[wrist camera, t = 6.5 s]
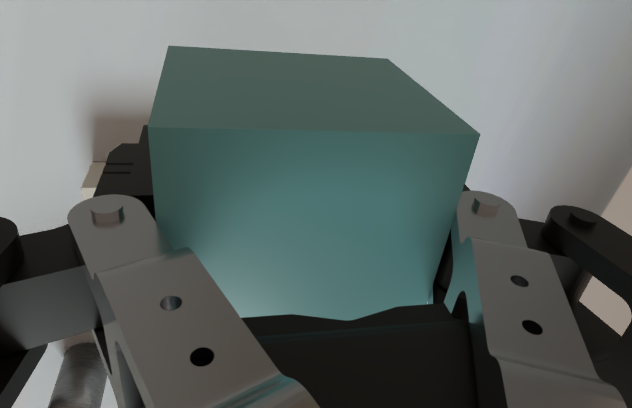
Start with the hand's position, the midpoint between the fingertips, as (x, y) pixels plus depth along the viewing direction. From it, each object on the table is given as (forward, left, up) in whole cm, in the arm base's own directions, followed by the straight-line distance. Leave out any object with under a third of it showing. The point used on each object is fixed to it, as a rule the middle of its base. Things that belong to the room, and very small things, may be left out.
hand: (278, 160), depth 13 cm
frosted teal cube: (0, 0, 0) cm, 0 cm away
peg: (+11, +24, -15) cm, 30 cm away
